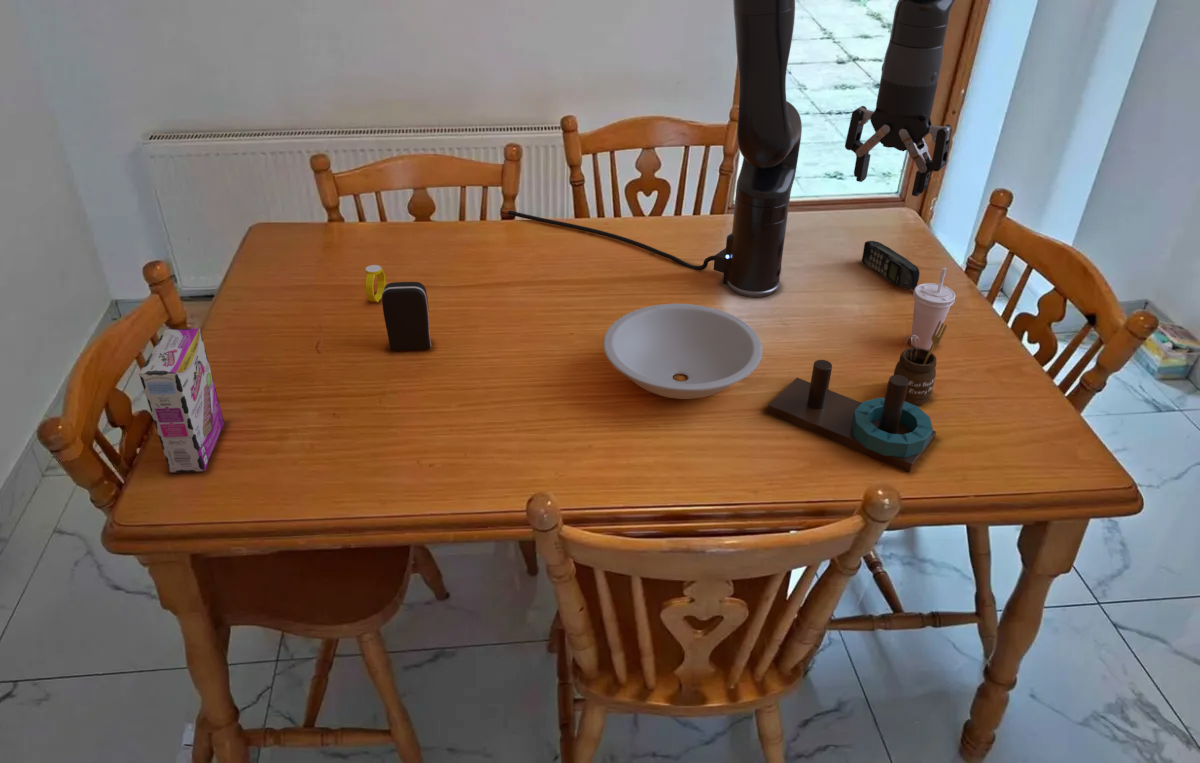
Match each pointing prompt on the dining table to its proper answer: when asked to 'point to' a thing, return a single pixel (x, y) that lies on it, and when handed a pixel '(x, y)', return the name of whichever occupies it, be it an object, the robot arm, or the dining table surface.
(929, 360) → the utensil holder
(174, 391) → the candy bar box
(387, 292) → the battery charger
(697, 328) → the vessel sink basin
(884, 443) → the teal faceted ring
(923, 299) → the smoothie
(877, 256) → the mobile phone
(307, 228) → the dining table surface
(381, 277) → the watch
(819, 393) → the rack
